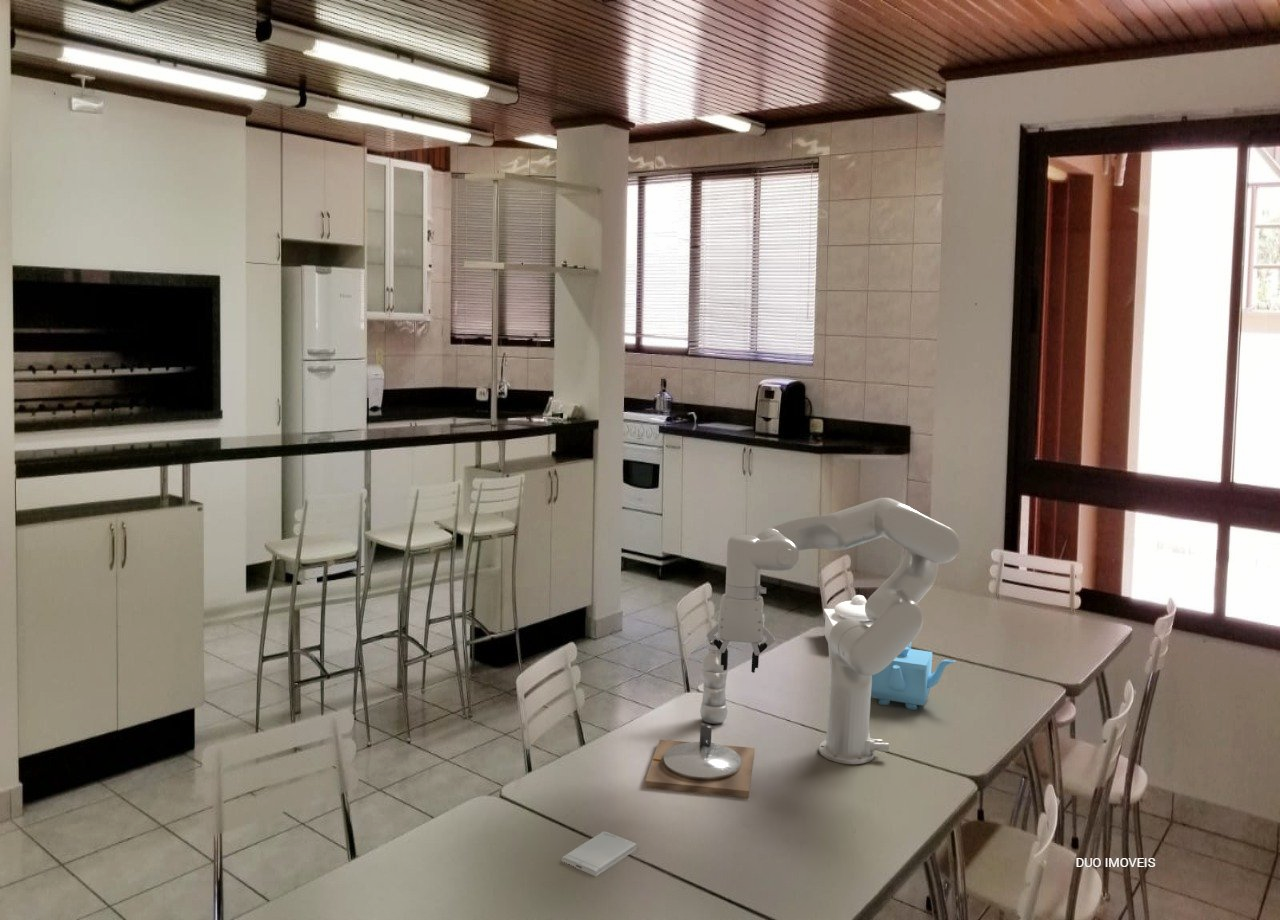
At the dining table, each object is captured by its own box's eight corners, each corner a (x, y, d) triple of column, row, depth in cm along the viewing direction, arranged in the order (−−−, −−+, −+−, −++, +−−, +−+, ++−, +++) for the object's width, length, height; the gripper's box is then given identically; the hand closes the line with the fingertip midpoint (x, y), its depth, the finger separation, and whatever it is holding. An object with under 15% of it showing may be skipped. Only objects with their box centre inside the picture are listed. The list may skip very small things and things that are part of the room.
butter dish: (891, 656, 313) (895, 604, 310) (831, 654, 313) (834, 602, 311) (879, 637, 330) (882, 588, 328) (822, 635, 330) (825, 586, 328)
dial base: (754, 754, 241) (754, 746, 240) (748, 797, 219) (749, 789, 219) (659, 745, 244) (659, 738, 244) (645, 787, 223) (645, 779, 222)
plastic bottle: (725, 728, 255) (728, 649, 252) (697, 725, 256) (700, 646, 254) (728, 718, 261) (731, 641, 258) (701, 715, 263) (704, 638, 260)
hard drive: (603, 830, 202) (561, 855, 192) (637, 843, 197) (596, 870, 187) (603, 838, 202) (561, 864, 192) (637, 851, 197) (596, 879, 188)
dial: (737, 783, 222) (738, 758, 221) (658, 776, 224) (659, 750, 224) (743, 750, 238) (744, 726, 237) (669, 743, 241) (669, 720, 240)
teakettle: (850, 693, 281) (853, 640, 279) (907, 684, 288) (911, 632, 286) (894, 719, 264) (897, 662, 262) (953, 709, 271) (957, 654, 269)
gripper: (782, 589, 234) (778, 667, 237) (705, 584, 237) (702, 661, 239) (781, 598, 227) (777, 678, 229) (702, 593, 229) (699, 672, 232)
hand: (739, 668), depth 234 cm, fingers open, 5 cm apart
